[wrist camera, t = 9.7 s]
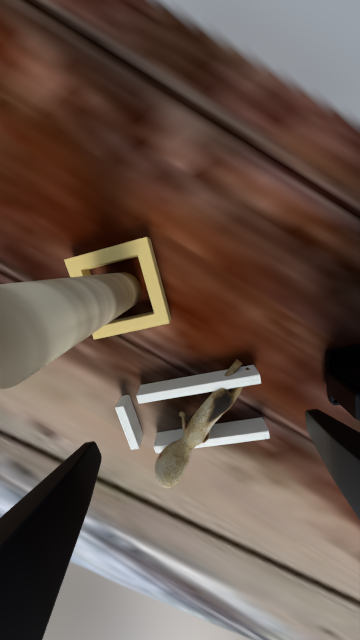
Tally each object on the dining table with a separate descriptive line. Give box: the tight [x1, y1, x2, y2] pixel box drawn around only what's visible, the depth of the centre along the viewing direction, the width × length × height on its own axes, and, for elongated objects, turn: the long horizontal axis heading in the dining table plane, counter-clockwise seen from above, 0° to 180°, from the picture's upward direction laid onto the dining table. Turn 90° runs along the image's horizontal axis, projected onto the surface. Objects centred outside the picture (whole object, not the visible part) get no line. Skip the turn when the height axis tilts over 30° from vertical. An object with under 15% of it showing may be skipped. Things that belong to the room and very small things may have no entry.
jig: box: [64, 237, 270, 453], centre depth 20 cm, size 16×23×2 cm
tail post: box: [0, 272, 142, 389], centre depth 13 cm, size 4×4×14 cm
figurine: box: [155, 359, 250, 488], centre depth 21 cm, size 4×4×15 cm
